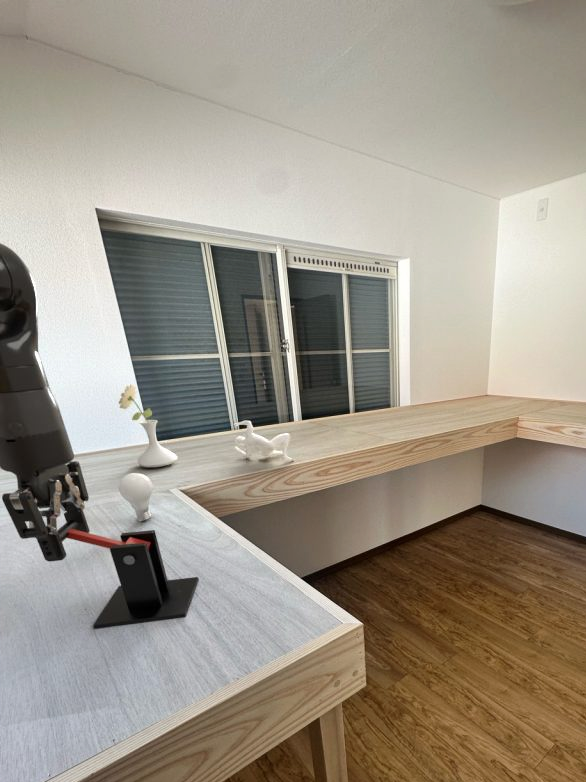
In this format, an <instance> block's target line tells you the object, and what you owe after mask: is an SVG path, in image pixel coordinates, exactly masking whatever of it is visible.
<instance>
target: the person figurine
mask: <svg viewBox="0 0 586 782" xmlns="http://www.w3.org/2000/svg"><path fill="white" fill-rule="evenodd" d="M240 425H241V426H242V425H244V426H246V430H245V436H236V437H235V438H234V443H235V444H236V445H238V446H243V447H244V448H245V451H244V450H241V449H240V448H239V447H238V446H233V450H234V451H235V452H238V454H240V455H241V456H242V457H243V458H244V459H246V458H247V459H249V458H252V457H253V456H254V454H255V453H257V452H258V453H259V455H261V456H263V457H271V456H276V455H281V460H287V461H292V460H291V459H292V458H291V457H289V456H288V454H287V449H288V446H289V444H290V440H291V434H290V433H281V434H277V435H276V436H275V437H273V438H272V439H270V440H268V439H267V438H265V437H263V436H261V435H258V434H256V433H254V426H253V424H252V421H251V420H247V419H246V420H242V421H239V422H233V426H234V427H237V426H240ZM280 447H281V450H276V449H278V448H280Z"/></svg>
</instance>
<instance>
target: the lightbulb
mask: <svg viewBox="0 0 586 782" xmlns="http://www.w3.org/2000/svg"><path fill="white" fill-rule="evenodd" d="M153 491H154V486H153V482H152V481H151V479H150V478H149V477H148V476H147V475H145V474H143V473H139V472H132V473H128V474H126V475H124V476H122V478H121V479H120V480H119V482H118V492H119V493H120V495H121V497H122V498H123V499H124V500H126V501H127V502H128V503H129V504H130V505H131V507H132V508H133V510H134V512H135V515H136V518H137V520H138V521H141V522H147V521H148V520H149V519H151V517H152V514H151V512H150V508H149V506H150V499H151V496H152V494H153Z"/></svg>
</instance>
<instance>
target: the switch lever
mask: <svg viewBox="0 0 586 782" xmlns="http://www.w3.org/2000/svg"><path fill="white" fill-rule="evenodd" d="M77 528H78V523H77V522H76V521H74V520H69V521H68V522H66V521H65V523H64V524H63V525H62V526H61V527H59V528H57V533H59V536H60V538H61V541H62V543H63V542H64V541H65V540H66V539H69V540H73V541H78V542H82V543H86V544H88V545H89V544H90V545H93V546H98V547H102V548H105V549H110V548H111V547H112V546H115V545H125V544H135V543H147V547H148V550H149V547H150V543H151V542H147V541H144V540H140V539H136V538H132V537H130V538H129V539H128V540H127V542H122V541H121V540H117V539H114V538H110V537H106V536H102V535H97V534H94V533H90V532H89V533H86V532H82V531H78V530H75V529H77Z"/></svg>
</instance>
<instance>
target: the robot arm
mask: <svg viewBox="0 0 586 782" xmlns="http://www.w3.org/2000/svg"><path fill="white" fill-rule="evenodd" d="M38 313H39V312H38V292H37V288H36V284H35V280H34V277H33V275H32V273H31V271H30V269H29V267H28V266H27V264H26V263H25V262H24V260H23V259H22V258H21V256H20V255H18V253H16V252H15V251H14V250H13V249H12V248H10V247H8V246H7V245H5V244H3V243H1V242H0V469H1V470H3V471H4V472H8V473H9V472H10V473H12V474H13V475H15V477H16V481H17V490H15V491H14V492H9V493H8V492H7V493H3V494H2V495H1V500H2V502H3V504H4V506H5V508H6V511H7V513H8V515H9V517H10V520H11V521H12V523H13V525H14V527H15V529H16V532H17V534H18V536H19V538H20V539H22V540H27V539H32V538H34V539H36V542H37V544H38V546H39V548H40V551H41V553H42V556H43V558H44V560H45V561H47V562H59V561H63V560H64V559H66V557H67V553H66V549H65V547H64V544H63V542H62V541H61V538H60V536H59V533H57V530H58V526H57V525H58V524H57V518H59V516H60V515H61V511H63V512H64V513H63V516H64V519H65V523H66V522H68V521H69V520H74V521H76V522H77V523H78V528H77V529H75V530H78V531H82V532H86V533H90V527H89V525H88V522H87V519H86V516H85V512H84V510H85V507H86V505H85V502H88V501H89V499H90V496H89V493H88V490H87V486H86V483H85V482H86V481H85V479H84V475H83V471H82V467H81V464H80V462H79V461H78V460H75V461H73V460H74V458H75V454H74V450H73V447H72V444H71V441H70V438H69V435H68V431H67V428H66V425H65V423H64V419H63V416H62V413H61V410H60V407H59V404H58V402H57V400H56V398H55V395H54V394H53V392H52V390H51V387H50V384H49V381H48V377H47V373H46V371H45V368H44V365H43V362H42V359H41V357H40V353H39V324H38V323H39V320H38V319H39V318H38V317H39V316H38ZM40 509H45V510H40ZM43 518H46V523H45V521H44V519H43ZM26 522H28V525H27V523H26Z"/></svg>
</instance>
